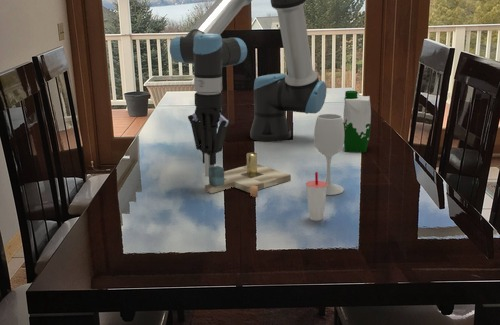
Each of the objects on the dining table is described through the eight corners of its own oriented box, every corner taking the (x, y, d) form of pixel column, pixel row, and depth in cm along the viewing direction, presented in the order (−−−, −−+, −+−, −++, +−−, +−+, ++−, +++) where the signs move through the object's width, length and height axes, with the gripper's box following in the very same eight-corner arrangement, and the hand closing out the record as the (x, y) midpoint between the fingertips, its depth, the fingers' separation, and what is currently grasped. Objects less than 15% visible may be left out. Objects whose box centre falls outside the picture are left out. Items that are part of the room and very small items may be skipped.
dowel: (249, 195, 168) (248, 186, 168) (255, 194, 170) (254, 185, 169) (253, 197, 167) (252, 188, 166) (259, 196, 168) (259, 187, 167)
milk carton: (343, 145, 216) (344, 89, 210) (369, 146, 214) (371, 89, 208) (341, 152, 208) (343, 93, 202) (369, 153, 206) (371, 94, 200)
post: (245, 179, 182) (244, 153, 179) (253, 177, 183) (253, 152, 181) (250, 182, 179) (250, 156, 177) (259, 180, 181) (258, 154, 178)
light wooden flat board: (191, 185, 177) (190, 164, 175) (255, 168, 192) (254, 148, 190) (226, 199, 165) (225, 176, 164) (290, 180, 180) (290, 159, 178)
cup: (311, 223, 149) (312, 176, 145) (301, 216, 153) (301, 170, 150) (331, 220, 151) (332, 173, 147) (320, 212, 155) (320, 167, 152)
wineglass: (346, 186, 174) (348, 113, 168) (340, 196, 166) (342, 120, 160) (316, 183, 177) (317, 112, 171) (309, 193, 169) (310, 118, 163)
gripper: (180, 91, 167) (183, 174, 174) (219, 96, 160) (220, 182, 167) (197, 87, 173) (199, 168, 180) (235, 92, 166) (235, 175, 173)
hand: (209, 175), depth 173 cm, fingers closed
